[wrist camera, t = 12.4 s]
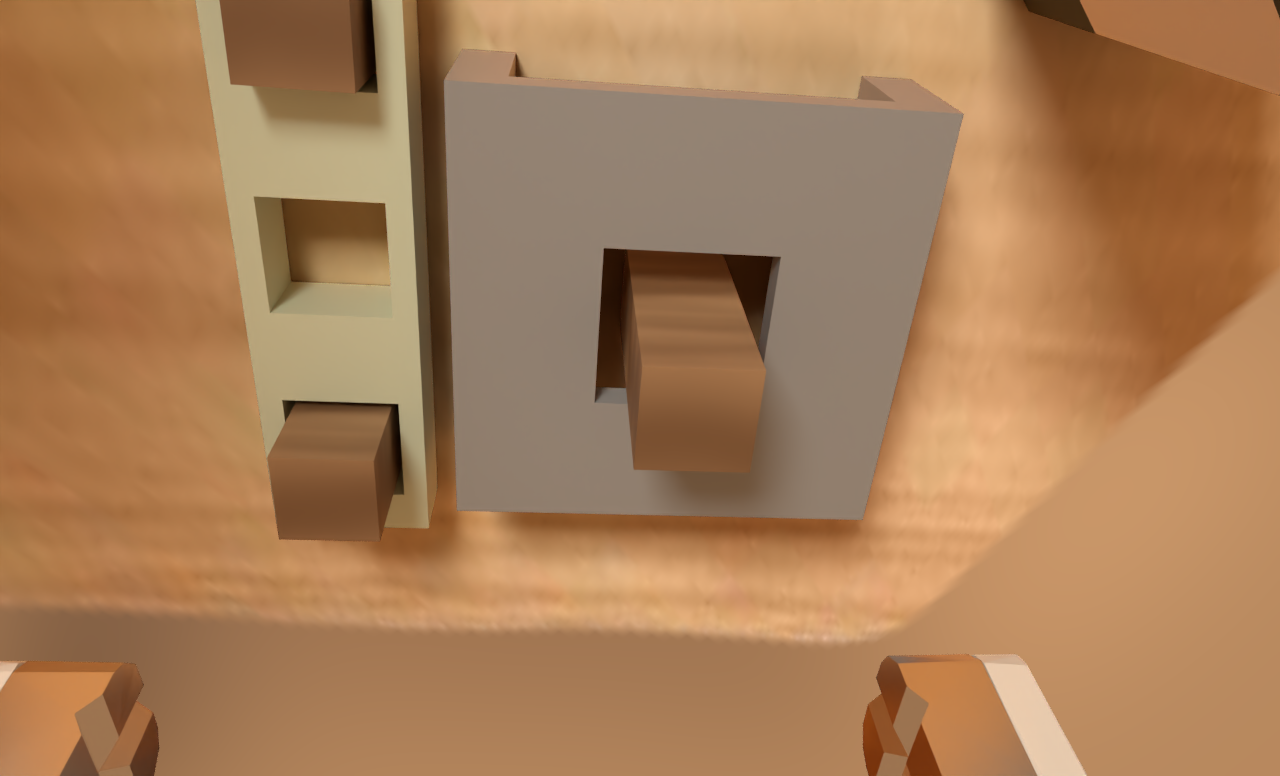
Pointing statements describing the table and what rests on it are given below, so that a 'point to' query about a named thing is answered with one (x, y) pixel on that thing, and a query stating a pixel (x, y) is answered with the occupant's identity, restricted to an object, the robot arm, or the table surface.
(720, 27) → the table surface
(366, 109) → the peg rack
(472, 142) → the hole bridge
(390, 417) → the pin medium
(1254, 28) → the wine bottle
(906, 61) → the table surface
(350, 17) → the pin short
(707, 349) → the pin long
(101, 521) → the table surface
